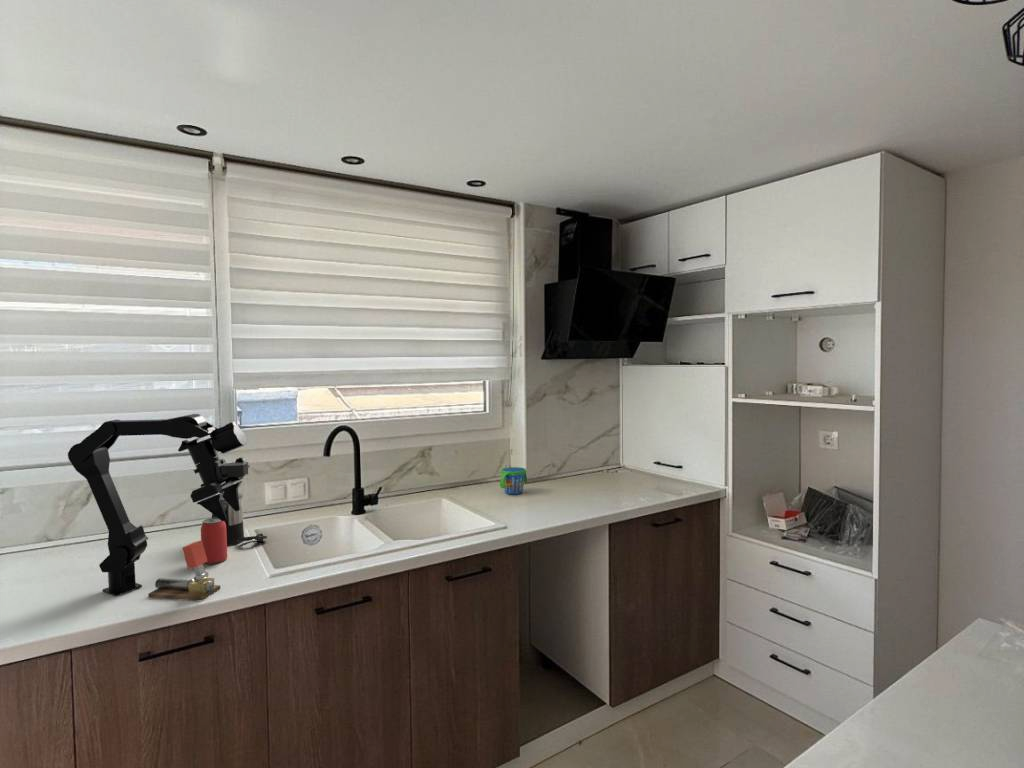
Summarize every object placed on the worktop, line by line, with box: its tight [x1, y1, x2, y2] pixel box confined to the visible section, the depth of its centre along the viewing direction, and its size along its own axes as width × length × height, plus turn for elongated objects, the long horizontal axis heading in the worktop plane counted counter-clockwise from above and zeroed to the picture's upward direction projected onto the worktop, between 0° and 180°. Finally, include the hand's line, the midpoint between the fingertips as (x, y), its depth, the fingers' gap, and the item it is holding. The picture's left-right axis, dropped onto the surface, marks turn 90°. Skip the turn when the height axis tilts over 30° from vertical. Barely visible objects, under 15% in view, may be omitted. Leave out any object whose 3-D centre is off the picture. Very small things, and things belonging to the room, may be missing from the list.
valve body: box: [154, 577, 215, 594], centre depth 144 cm, size 14×4×3 cm, turn 81°
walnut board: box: [147, 584, 221, 601], centre depth 144 cm, size 14×7×1 cm, turn 81°
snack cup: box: [499, 466, 528, 496], centre depth 243 cm, size 16×10×10 cm
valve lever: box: [181, 539, 209, 582], centre depth 143 cm, size 2×4×9 cm, turn 171°
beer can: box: [200, 517, 228, 565], centre depth 166 cm, size 7×7×12 cm
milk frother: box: [211, 492, 268, 546], centre depth 182 cm, size 14×16×15 cm
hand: (231, 515), depth 149 cm, fingers open, 9 cm apart
